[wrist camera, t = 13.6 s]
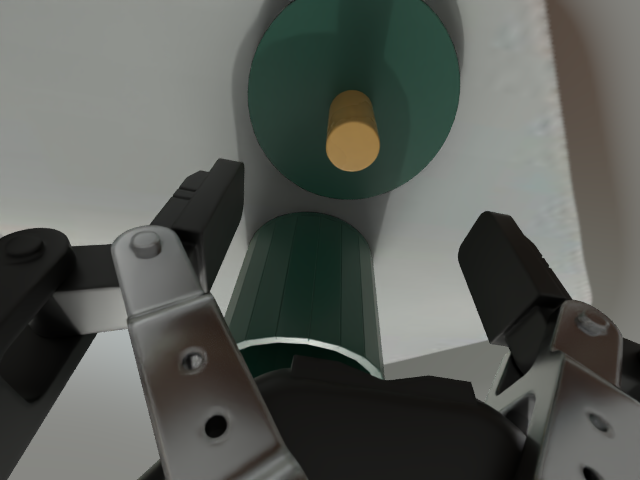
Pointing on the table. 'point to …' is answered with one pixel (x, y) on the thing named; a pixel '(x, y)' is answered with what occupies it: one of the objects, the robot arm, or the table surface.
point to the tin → (306, 296)
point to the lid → (353, 94)
